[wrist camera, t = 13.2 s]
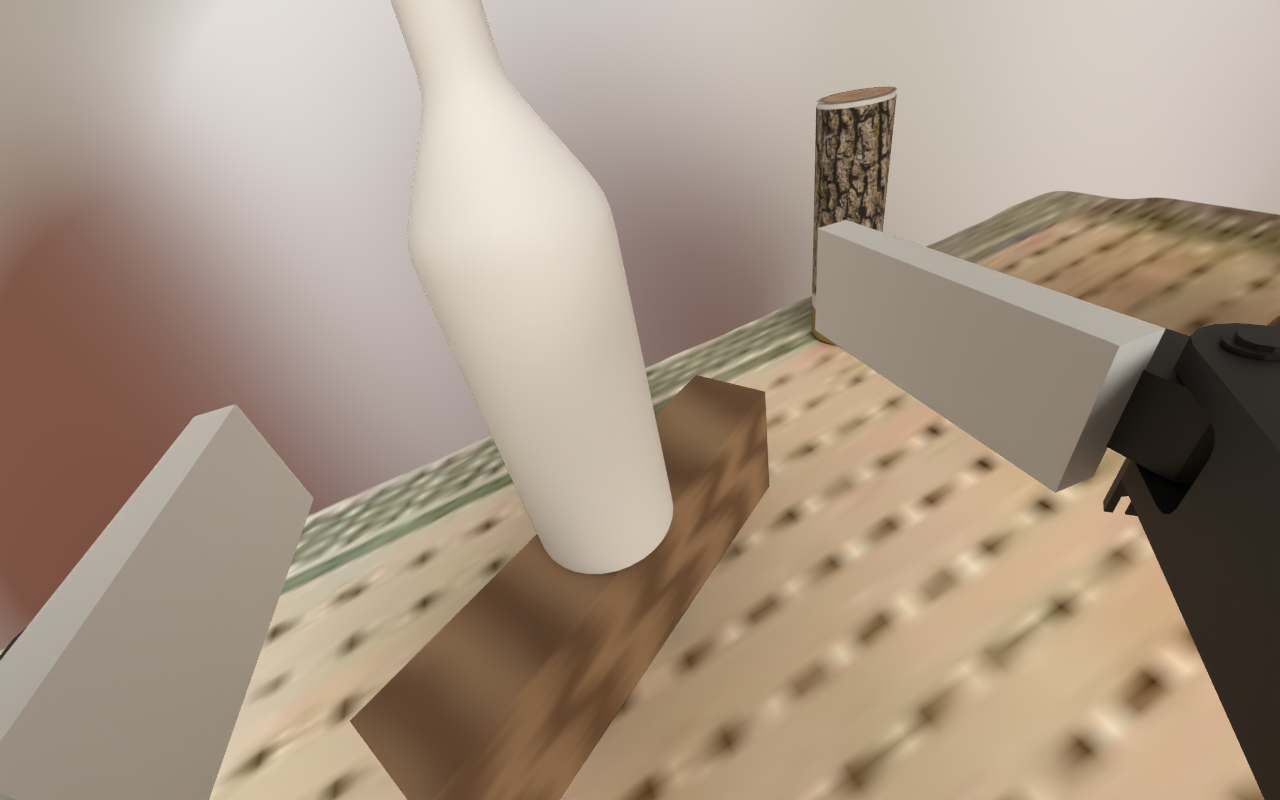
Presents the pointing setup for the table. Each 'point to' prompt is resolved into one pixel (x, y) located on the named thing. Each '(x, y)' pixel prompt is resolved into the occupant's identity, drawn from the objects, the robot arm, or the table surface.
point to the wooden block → (568, 629)
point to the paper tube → (851, 162)
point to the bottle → (532, 298)
